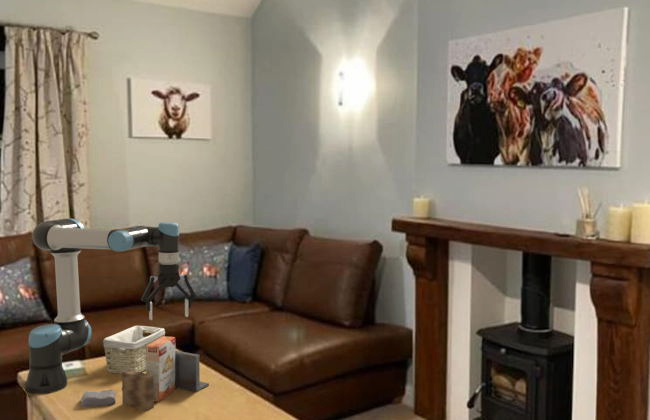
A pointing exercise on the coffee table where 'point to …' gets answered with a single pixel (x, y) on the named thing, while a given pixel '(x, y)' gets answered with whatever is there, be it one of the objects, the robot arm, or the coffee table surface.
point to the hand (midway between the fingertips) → (168, 317)
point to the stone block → (98, 398)
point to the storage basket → (129, 348)
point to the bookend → (188, 372)
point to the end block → (137, 390)
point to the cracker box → (161, 366)
